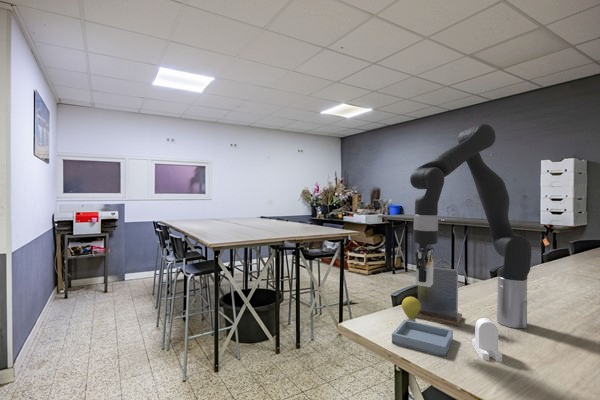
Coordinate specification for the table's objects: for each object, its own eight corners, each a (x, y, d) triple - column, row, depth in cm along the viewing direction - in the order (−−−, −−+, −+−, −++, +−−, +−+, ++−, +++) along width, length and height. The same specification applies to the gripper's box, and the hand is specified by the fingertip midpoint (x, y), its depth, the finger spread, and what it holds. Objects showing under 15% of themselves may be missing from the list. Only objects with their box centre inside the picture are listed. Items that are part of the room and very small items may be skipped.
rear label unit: (462, 317, 125) (462, 267, 125) (458, 326, 117) (458, 273, 117) (419, 309, 134) (420, 262, 134) (413, 317, 126) (413, 267, 126)
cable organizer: (489, 345, 103) (490, 314, 102) (502, 361, 93) (503, 327, 93) (471, 344, 104) (472, 313, 104) (482, 360, 94) (483, 326, 94)
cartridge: (432, 284, 107) (433, 260, 107) (429, 287, 103) (430, 262, 103) (419, 281, 110) (419, 258, 109) (415, 284, 106) (416, 260, 106)
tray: (452, 339, 107) (452, 330, 107) (445, 357, 96) (445, 347, 96) (404, 327, 116) (404, 319, 116) (391, 343, 105) (391, 333, 105)
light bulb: (398, 320, 123) (398, 294, 123) (415, 319, 123) (415, 294, 123) (405, 327, 116) (406, 300, 116) (423, 327, 117) (424, 299, 116)
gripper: (432, 231, 98) (431, 287, 98) (442, 227, 110) (440, 277, 110) (407, 229, 102) (406, 283, 103) (419, 226, 114) (418, 274, 114)
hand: (424, 279), depth 106 cm, fingers closed on cartridge, 4 cm apart
